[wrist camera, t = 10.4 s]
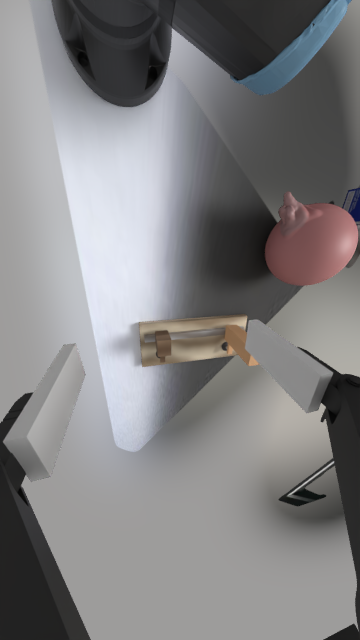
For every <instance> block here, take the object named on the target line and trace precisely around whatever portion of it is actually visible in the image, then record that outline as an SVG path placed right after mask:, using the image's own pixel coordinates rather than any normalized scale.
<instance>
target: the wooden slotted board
mask: <svg viewBox="0 0 360 640" xmlns="http://www.w3.org/2000/svg"><path fill="white" fill-rule="evenodd" d="M246 321H247V316H246V315H245V314H241V315H227V316H214V317H201V318H188V319H174V320H161V321H148V322H139V329H140V342H141V355H142V367H146V366H154V365H162V364H170V363H178V362H186V361H194V360H202V359H210V358H217V357H225V356H233V355H238V354H237V353H236V352H235V351H234V349H233V351H232V354H227V349H226V346H228V343H227V342H226V341H225V339H224V338H225V330H226V325H238V326H239V327H240V328H242V329H243V330H244V331H245V327H246Z"/></svg>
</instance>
